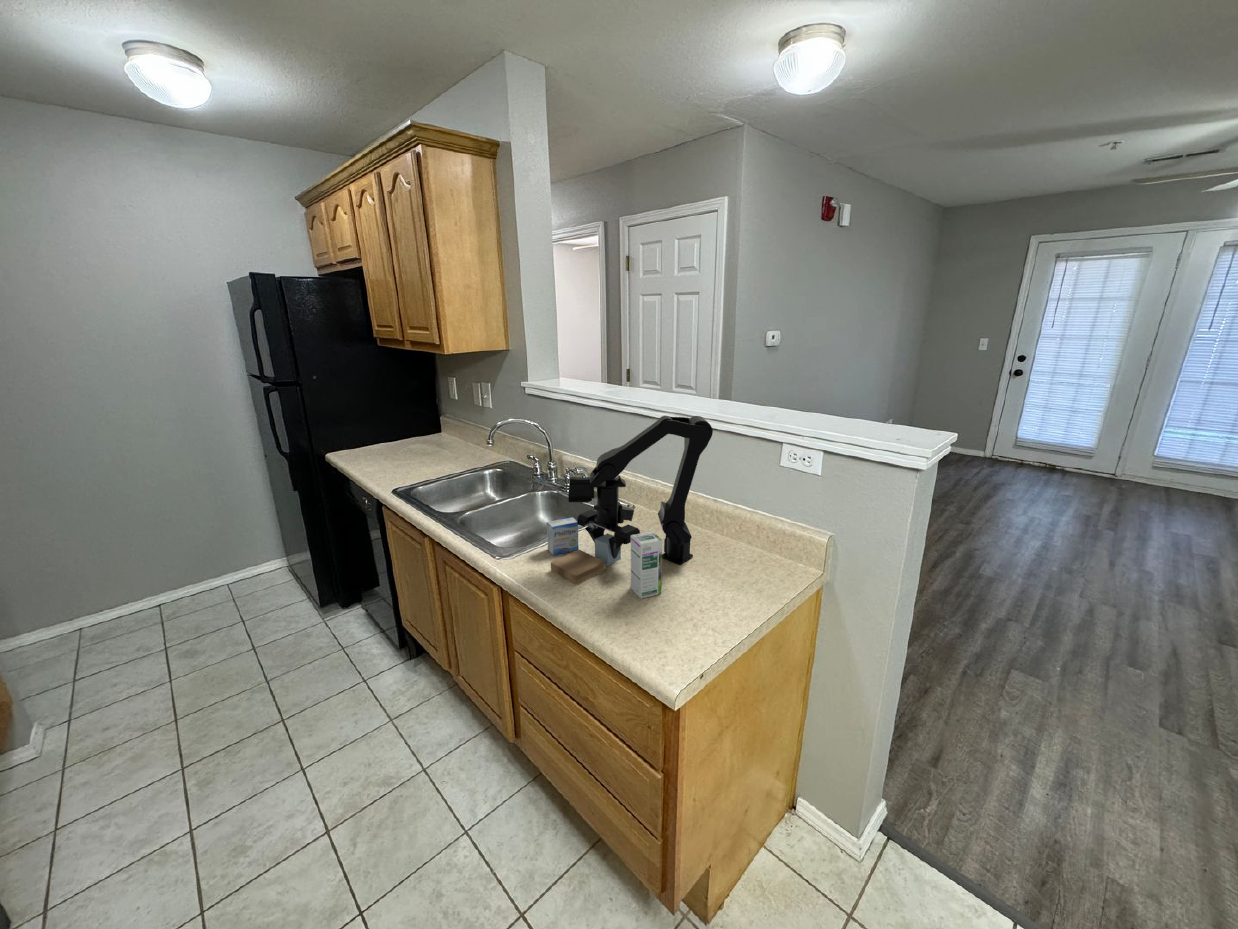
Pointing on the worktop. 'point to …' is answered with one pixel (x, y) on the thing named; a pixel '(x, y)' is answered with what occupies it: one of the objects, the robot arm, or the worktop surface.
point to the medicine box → (562, 536)
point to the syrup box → (646, 564)
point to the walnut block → (578, 566)
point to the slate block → (605, 549)
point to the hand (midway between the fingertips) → (607, 554)
